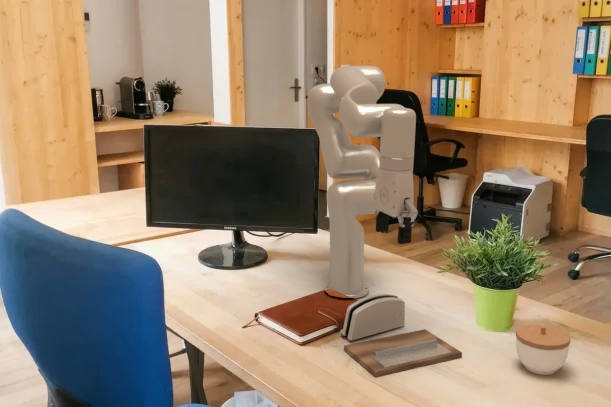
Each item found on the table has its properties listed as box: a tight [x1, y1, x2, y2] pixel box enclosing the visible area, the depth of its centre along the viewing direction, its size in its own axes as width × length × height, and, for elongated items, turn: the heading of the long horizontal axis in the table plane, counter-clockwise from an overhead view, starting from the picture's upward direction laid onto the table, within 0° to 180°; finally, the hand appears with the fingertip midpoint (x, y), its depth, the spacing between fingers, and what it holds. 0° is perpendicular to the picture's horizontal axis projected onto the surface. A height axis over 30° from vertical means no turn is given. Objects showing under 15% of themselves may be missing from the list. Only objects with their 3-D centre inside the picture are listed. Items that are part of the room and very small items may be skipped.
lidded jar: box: [515, 324, 571, 376], centre depth 132 cm, size 11×11×9 cm
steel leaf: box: [371, 339, 451, 368], centre depth 136 cm, size 6×17×1 cm, turn 114°
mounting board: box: [343, 328, 463, 378], centre depth 139 cm, size 14×22×1 cm, turn 114°
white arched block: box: [339, 293, 406, 341], centre depth 149 cm, size 17×5×10 cm, turn 122°
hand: (392, 237), depth 143 cm, fingers open, 9 cm apart
